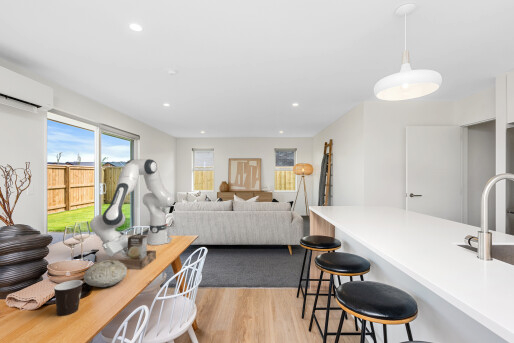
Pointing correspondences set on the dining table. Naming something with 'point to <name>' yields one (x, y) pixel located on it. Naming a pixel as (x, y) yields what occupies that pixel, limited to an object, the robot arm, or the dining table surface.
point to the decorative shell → (105, 273)
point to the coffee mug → (67, 297)
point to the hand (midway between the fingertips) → (127, 255)
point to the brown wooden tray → (139, 261)
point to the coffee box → (137, 247)
